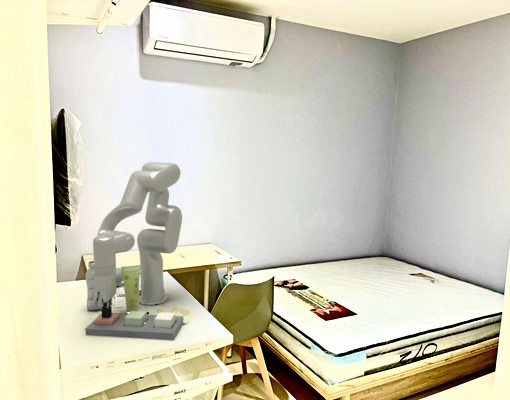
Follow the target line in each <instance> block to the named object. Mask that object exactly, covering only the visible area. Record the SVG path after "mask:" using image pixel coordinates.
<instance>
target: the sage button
mask: <svg viewBox="0 0 510 400" xmlns="http://www.w3.org/2000/svg"><path fill="white" fill-rule="evenodd" d="M147 313H148V312H147V311H144V310H143V311H141V310H139V311H130V313H129V314H128V315H127V316H126V317H125V326H133V327H142V326H143V325H144V323H145V322H146V321H147V315H148V314H147Z"/></svg>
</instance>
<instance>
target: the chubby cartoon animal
mask: <svg viewBox="0 0 510 400" xmlns="http://www.w3.org/2000/svg"><path fill="white" fill-rule="evenodd" d="M115 275H116V287H117V286H120V287H121V284H122V282H123V275H122V270H121V267H116V273H115ZM117 288H118V287H117Z"/></svg>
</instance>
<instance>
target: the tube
mask: <svg viewBox="0 0 510 400" xmlns="http://www.w3.org/2000/svg"><path fill="white" fill-rule="evenodd" d="M120 268H121V270H122V275H123V281H122V282H123V288H124V289H123V290H124V298H125V311H126V313H127V312H130V311H138V310H139V311H140V303H139V296H140V280H141V273H140V268H141V265H140V264H138V265H129V266H128V265H127V266H120Z"/></svg>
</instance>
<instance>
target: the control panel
mask: <svg viewBox="0 0 510 400" xmlns="http://www.w3.org/2000/svg"><path fill="white" fill-rule="evenodd" d="M112 313H113V314H118V316H119V319H118V320H117V321H116V322H115V323H114V324H113V325H96V319H97V318H98V317H99V316H100V315H101V314H102V313H99V315H98V316H97V317H96V318H95V319H94V320H93V321H92V322H90V323H89V324H88V325H87V326H86V327H85V329H84V332H85V333H84V334H85V336H97V337H111V338H112V337H113V338H131V339H133V338H134V339H148V340H149V339H150V340H164V341H165V340H166V341H167V340H169V341H173V340H175V338H176V336H177V334H178V332H179V331H180V329H181V328H182V326H183V324H184V323H183V320H184V316H182V315H175V323H174V325H173V327H172V328H171V329H170V328H155V322H154V319H155V318H156V316H157V315H158V314H147V321H146V323H145V324H144V325H143V326H142V327H133V326H125V317H126V316H127V315H128V313H127V312H126V313H125V312H123V313H122V312H112Z"/></svg>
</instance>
